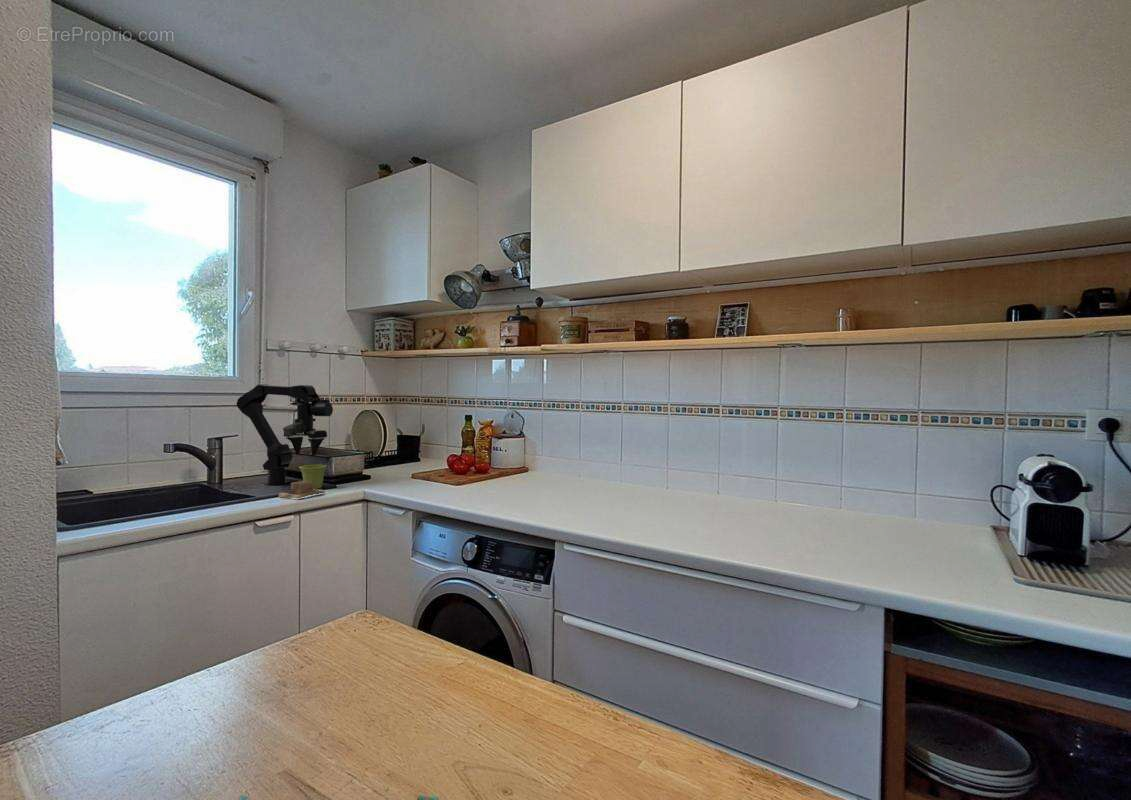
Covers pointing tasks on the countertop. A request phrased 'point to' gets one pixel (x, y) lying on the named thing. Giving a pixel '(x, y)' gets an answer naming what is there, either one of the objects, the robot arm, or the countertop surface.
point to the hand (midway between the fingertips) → (305, 455)
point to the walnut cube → (301, 487)
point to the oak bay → (315, 491)
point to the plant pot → (313, 474)
